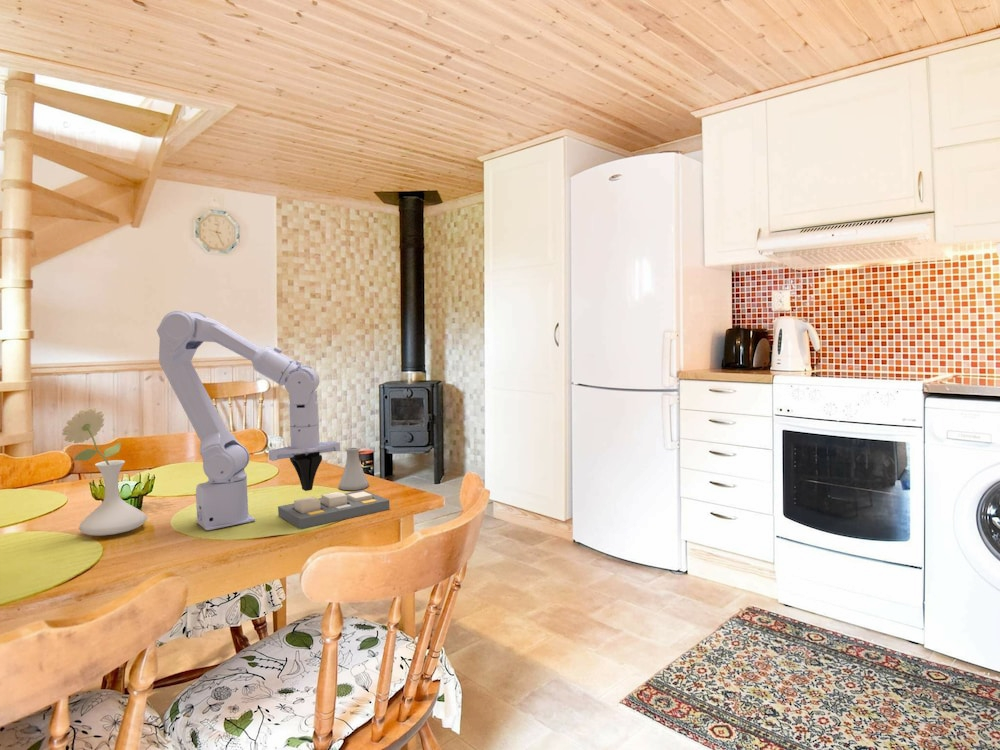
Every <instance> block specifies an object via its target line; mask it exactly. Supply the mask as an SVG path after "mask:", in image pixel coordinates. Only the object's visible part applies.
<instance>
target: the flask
mask: <svg viewBox="0 0 1000 750" xmlns="http://www.w3.org/2000/svg"><path fill="white" fill-rule="evenodd" d="M359 451H360V447H357V446H355V447H354V446H353V447H347V448H345V452H346V463H345V467H344V470H343V472H342V475H341V477H340V482H339V483H338V489H340V490H343V491H360V490H364V489H366V488H368V487H369V486H370V483H369V481H368V479H367V476H366V475H365V472H364V470H363V466H362V464H361V461H360V457H359V456H360V455H359Z"/></svg>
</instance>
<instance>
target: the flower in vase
mask: <svg viewBox="0 0 1000 750" xmlns="http://www.w3.org/2000/svg"><path fill="white" fill-rule="evenodd" d="M104 420H105V418H104V413H103V410H98V411H97V408H92V407H89V408H87V409H86V410H85V409H80V410H79V412H76V413H75V414H73V416H72V417H71V419H69V420H67V421H66V424H67V425H65V426H64V427H63V429H62V436H65V437H64V439H63V440H64V441H66V442H68V443H74V444H79V443H81V444H82V443H84V442H85V441H88V440H90V439H92V442H93V445H94V447H95V448H94V449H93V448H86V449H83V450H82V451H80V452H79V453H77V455H76V456H74V458H73V461H89V460H91V459H92V458H93V457H94V456H95V455H96V454H97V453H98V454H99V455H100V456H101V458H102V459H103V460H104V461H100V462H96V463H95V464H94V465H95V467H96V468H97V469H98V470H99V471H100V473H101V475H102V476H101V477H102V479H103V483H104V497H103V498H104V499H103V501H102V502H101V504H99V505H98V507H96V508H95V509H94V510H93V511H92V512H90V514H88V515H87V516H86V517H85V518H84V519H82V521H81V522H80V523H79V526H78V530H79V531H80V533H82V534H83V535H89V536H94V537H95V536H97V537H98V536H110V535H117V534H123V533H127V532H130V531H133V530H135V529H137V528H139V527H141V526H142V525H144V524H145V522H146V521H147V519H148V517H147V515H146V513H145V512H143V511H142V510H140V509H138V508H137V507H135V506H134V505H131V504H130V503H127V502H126V501H124V500H123V498H122V497H121V496H120V492H119V478H120V477H119V476H120V472H121V469H122V467H123V466H124V464H125V463H126V460H123V459H115V460H114V459H113V460H108V459H106V458H108V457H111V456H114V455H116V454H118V453H119V452H120V450H121V441H119V442H117V443H116V444H114V445H112V446H110V447H108V448H106V449H105V450H104V451H103V453H102V452H101V451H100V449H99V448H98V445H97V443H96V440H95V438H94V437H96V435H98V432H100V431H101V428H102V427H104V425H105V423H104Z"/></svg>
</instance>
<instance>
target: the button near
mask: <svg viewBox="0 0 1000 750" xmlns="http://www.w3.org/2000/svg"><path fill="white" fill-rule="evenodd" d="M293 503H294V508H295V510H296V511H298V512H300V513H307V512H311V511H316V510H321V504H320V500H319V498H316V497H315V496H308V497H304V498H298V499H294V500H293Z"/></svg>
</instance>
